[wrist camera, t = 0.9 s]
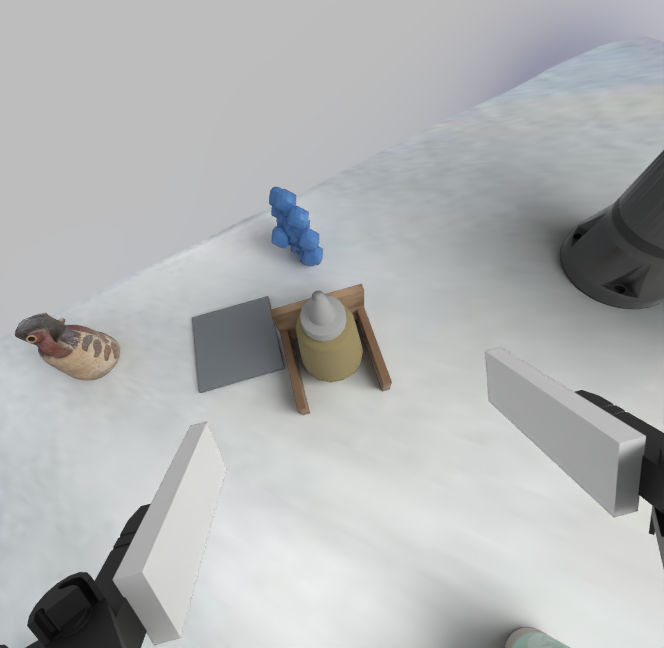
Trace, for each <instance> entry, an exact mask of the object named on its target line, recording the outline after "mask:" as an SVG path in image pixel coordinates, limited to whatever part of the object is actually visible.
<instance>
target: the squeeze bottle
mask: <svg viewBox="0 0 664 648" xmlns="http://www.w3.org/2000/svg"><path fill="white" fill-rule="evenodd" d="M296 332H297V338H298V343H299V348H300V353H301V358H302V362H303V365H304V366H305V368H306V369H307V371H308V373H309V374H311V375H312V376H314V377H315V378H317V379H318V380H322V381H327V382H335V381H340V380H344V379H345V378H347V377H349V376H350V375H352V374H353V373H354V372H355V371H356V369H357V368H358V366H359V365H360V364H361V359H362V354H363V349H362V345H361V340H360V337H359V333H358V330H357V326H356V323H355V319H354V316H353V314H352V313H351V311H350V310H349V309H348V307H347V306H345V305H343V304H342V303H341V302H340V301H339V300H338V299H336V298H334V297H332V296H327V295H324V293H323V292H321V291H315V292H314V293H313V294H312V298H311V299H310V300H308V301H307V302H306V304H305V305H304V306H303V307H302V310H301V313H300V315H299V317H298V320H297V323H296Z"/></svg>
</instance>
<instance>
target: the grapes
mask: <svg viewBox="0 0 664 648" xmlns="http://www.w3.org/2000/svg"><path fill="white" fill-rule="evenodd" d="M269 204H270V205H272V211H271V215H272V216H274V217H276V218H277V221H276V222H277V226H276V227H275V228H274V229H273V232H272V244H274V245H276V246H279V247H281V248H287V247H288V246H289V245H290V246H291V251H292V252H294V253H296V254H298V255H301V257H300V262H302V263H304V264H306V265H309V266H314V265H318V264H320V263H321V260H322V255H323V249H322V248H321V247H319V246H318V244H319V233H317V232H315V231H313V230H311V229H309V228H310V220H308V213H309V212H308V211H306V210H304V209H302V208H300V207H298V206H296V195H295V194H293V193H292V192H290V191H288V190H286V189H281V188H279V187H273V188H272V189H271V191H270V196H269Z"/></svg>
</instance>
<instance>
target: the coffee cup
mask: <svg viewBox="0 0 664 648" xmlns="http://www.w3.org/2000/svg"><path fill="white" fill-rule="evenodd" d="M504 648H570V647H568V646H567V645H565V644H563V643H561V642H560V641H558V640H556V639H554V638H553V637H551V636H549V635H547V634H545V633H543V632H542V631H540V630H538V629H535V628H530V627H524V628H520V629H517V630H516V631H514V632H513V633H512V634H511V635H510V636H509V638H508V639H507V641H506V643H505V647H504Z"/></svg>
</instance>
